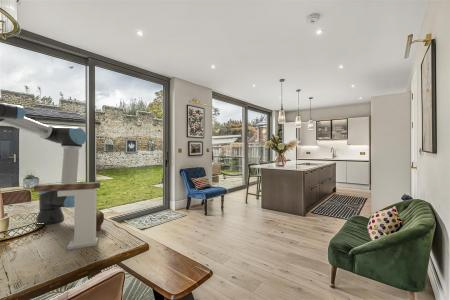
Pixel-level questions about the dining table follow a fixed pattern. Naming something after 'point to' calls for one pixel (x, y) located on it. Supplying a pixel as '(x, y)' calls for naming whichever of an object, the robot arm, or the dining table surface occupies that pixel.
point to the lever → (66, 186)
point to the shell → (99, 219)
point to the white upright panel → (83, 217)
